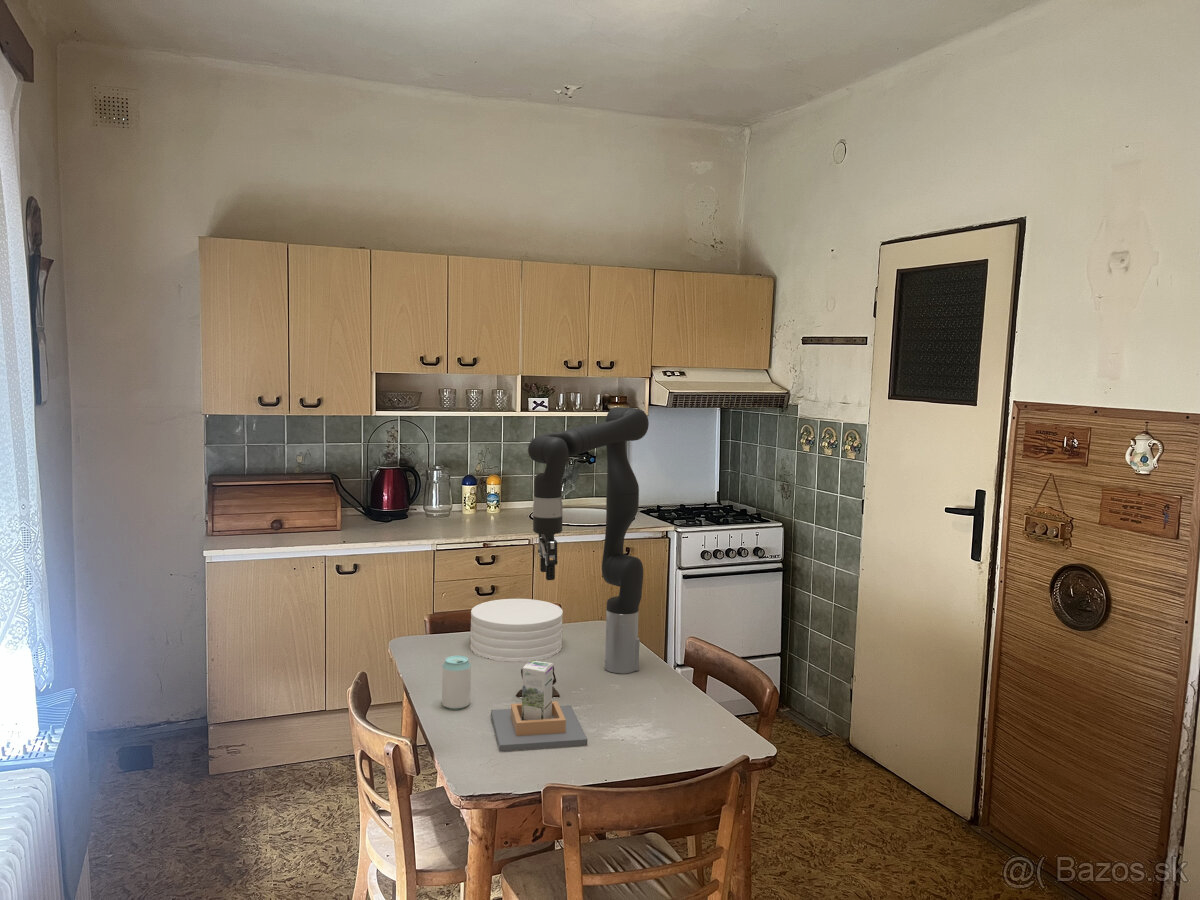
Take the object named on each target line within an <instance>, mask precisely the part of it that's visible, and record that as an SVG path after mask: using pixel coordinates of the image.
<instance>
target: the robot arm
mask: <svg viewBox="0 0 1200 900" xmlns="http://www.w3.org/2000/svg"><path fill="white" fill-rule="evenodd" d="M649 423H650V421H649V418H648V416H647V413H646V412H644V411H643V410H642V409H640V408H636V407H623V406H616V407H612V408H611V409H609V410H608V412H607V414H606V418H605V422H597V423H590V424H589V423H588V424H584V425H579V426H576V427H573V428H569V429H566V430H564V431H557V432H551V433H544V434H540V435H537V436H536V437H534V438H533V439H532V440H531V441H530V442H529V444H528V448H527V452H528V456H529V458H530V459H531V460H532V461H534V462H535V463H538V464H546V465H545V469H544V472H541V473H538V474H536V475H535V477H534V485H533V488H534V489H533V491H534V492H533V494H534V497H533V503H532V505H533V506H532V531H533V533H535V534H537V535H538V543H537V545H538V546H537V547H538V549H537V553H538V556H539V560H540V561H539V567H540V568H539V569H540V572H541V573H545V579H546V581H554V580H555V579H556V566H557V565H558V541H557V540H556V539H555V535H556V534H560V533H563V532H562V531H563V500H562V498H563V497H562V492H563V491H562V485H563V484H562V483H563V477H564V474H565V470H566V467H567V463H568V459H569V457H574V456H577V455H580V454H583V453H586V452H589V451H592V450H594V449H597V448H601V447H605V446H606V461H607V462H606V464H607V465H606V470H607V471H606V476H607V477H606V478H607V479H606V499H605V501H606V502H605V503H606V505H605V507H606V508H605V511H606V514H605V518H606V519H605V534H604V545H603V552H602V553H603V554H602V561H601V574H602V578H603V580H604V581H605V582H606V583H607V584H609V585H611V586H616V587H619V593H618V596H617V595H616V596H612V597H609V598H608V599H607V600H606V611H605V612H606V613H605V614H606V617H605V642H604V643H605V645H604V646H605V649H604V669H605V670H606V671H608V672H609V673H613V674H614V673H615V674H630V673H633V672H638V671H639V669H640V667H639V666H640V665H639V664H640V644H641V643H640V637H639V633H638V632H639V609H640V604H641V601H642V595H643V583H644V565H643V563H642V560H641V559H640V558H638V557H637V556H632V555H628V554H624V544H625V543H624V542H625V537H626V534H627V531H628V530H629V528H630V526H631V524H632V523H633V521H634V519H635V518H636V515H637V514H638V510H639V503H640V501H639V499H640V498H639V497H640V485H639V482H638V480H637V478H636V474H635V473H634V471H633V469H632V467H631V465H630V461H629V460H628V454H627V442H635V441H639V440H641V439H643V438H644V437H645V435H646V434H647V433H648V430H649ZM551 558H552V559H551Z"/></svg>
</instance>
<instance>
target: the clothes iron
mask: <svg viewBox="0 0 1200 900" xmlns="http://www.w3.org/2000/svg"><path fill="white" fill-rule="evenodd" d="M520 673H521V680H522V681H523V668H521V669H520ZM556 683H557V678H556V675H555V667H554V665H553V683H552V699H554V698H553V697H558V698H561V695H560V693H559V691H557V689H556V687H554V685H555V684H556ZM516 696H517V697H516ZM515 697H516V698H519V697H522V688H521V689H520V690H518V691H517V692H516V694H515Z"/></svg>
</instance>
